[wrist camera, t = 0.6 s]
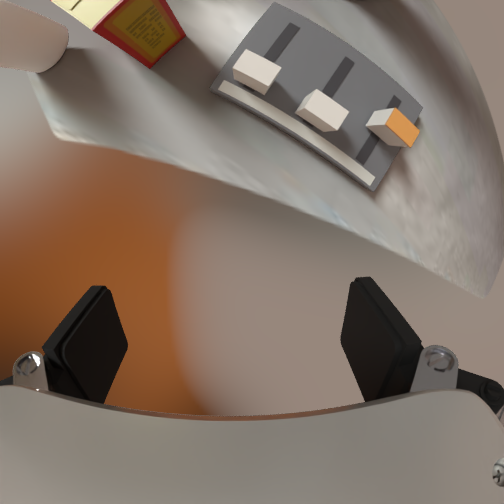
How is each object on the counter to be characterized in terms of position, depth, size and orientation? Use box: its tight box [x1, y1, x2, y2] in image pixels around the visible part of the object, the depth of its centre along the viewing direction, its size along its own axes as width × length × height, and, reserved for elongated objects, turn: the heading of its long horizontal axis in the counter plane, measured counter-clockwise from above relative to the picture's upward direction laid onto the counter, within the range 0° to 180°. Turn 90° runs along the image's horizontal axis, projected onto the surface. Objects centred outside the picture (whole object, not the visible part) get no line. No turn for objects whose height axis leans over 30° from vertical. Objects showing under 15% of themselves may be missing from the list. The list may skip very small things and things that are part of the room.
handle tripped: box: [366, 108, 420, 148], centre depth 26 cm, size 2×4×5 cm, turn 60°
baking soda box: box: [50, 0, 186, 69], centre depth 17 cm, size 10×6×16 cm
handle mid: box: [295, 89, 349, 132], centre depth 25 cm, size 2×4×5 cm, turn 59°
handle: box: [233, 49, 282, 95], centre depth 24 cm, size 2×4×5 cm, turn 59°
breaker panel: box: [210, 2, 423, 192], centre depth 28 cm, size 15×24×3 cm, turn 59°
